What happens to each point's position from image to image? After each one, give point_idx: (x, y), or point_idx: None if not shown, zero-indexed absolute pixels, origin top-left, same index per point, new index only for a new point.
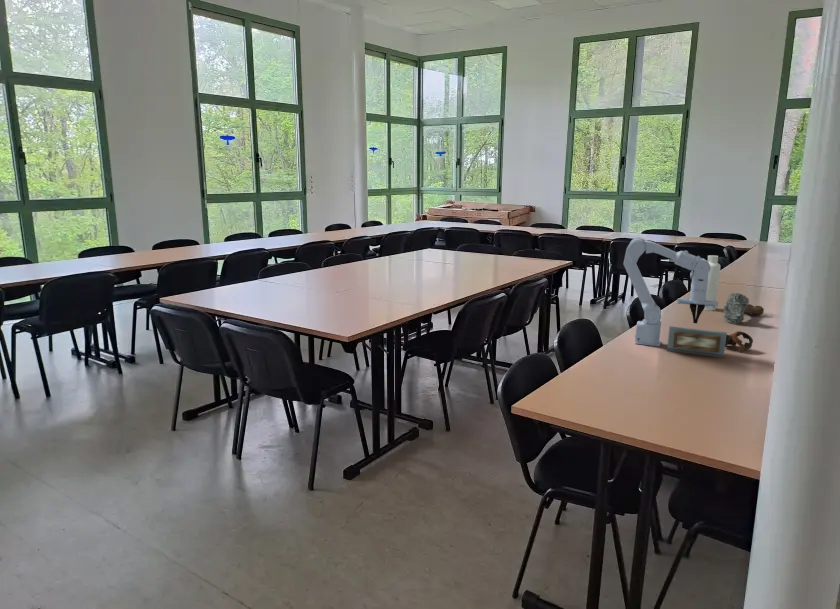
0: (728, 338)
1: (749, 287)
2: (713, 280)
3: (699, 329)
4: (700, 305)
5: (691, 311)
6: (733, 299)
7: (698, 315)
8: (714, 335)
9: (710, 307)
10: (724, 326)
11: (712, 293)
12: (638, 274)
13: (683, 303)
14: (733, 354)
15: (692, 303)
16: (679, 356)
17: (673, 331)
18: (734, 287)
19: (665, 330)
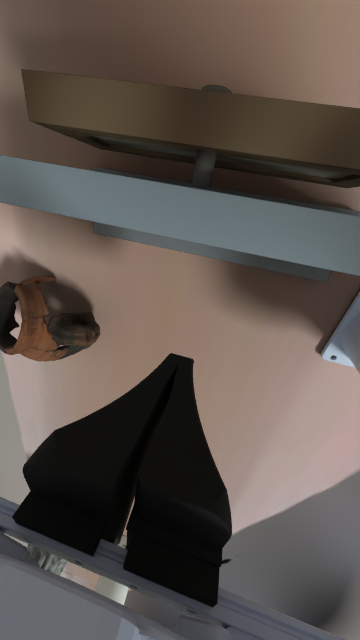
0: (61, 319)
1: (76, 574)
2: None
3: (170, 232)
4: (71, 525)
5: (206, 443)
6: (53, 555)
7: (143, 391)
8: (71, 128)
9: (119, 543)
10: None
11: (105, 584)
12: None
13: (311, 637)
14: (68, 241)
15: (172, 601)
16: (325, 92)
17: None
18: (91, 579)
19: (245, 461)
